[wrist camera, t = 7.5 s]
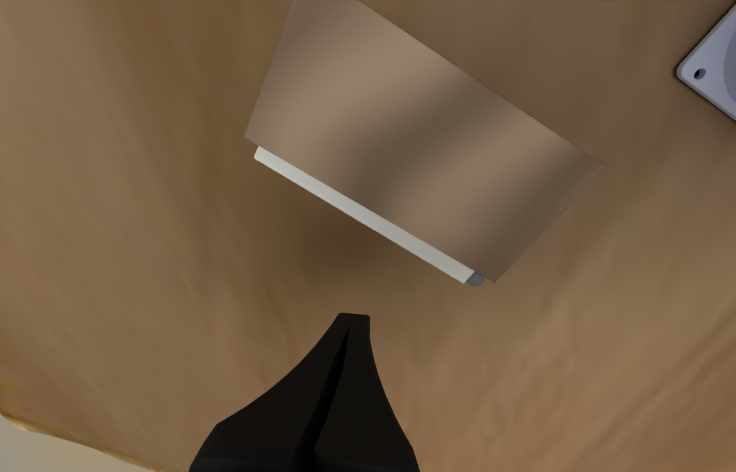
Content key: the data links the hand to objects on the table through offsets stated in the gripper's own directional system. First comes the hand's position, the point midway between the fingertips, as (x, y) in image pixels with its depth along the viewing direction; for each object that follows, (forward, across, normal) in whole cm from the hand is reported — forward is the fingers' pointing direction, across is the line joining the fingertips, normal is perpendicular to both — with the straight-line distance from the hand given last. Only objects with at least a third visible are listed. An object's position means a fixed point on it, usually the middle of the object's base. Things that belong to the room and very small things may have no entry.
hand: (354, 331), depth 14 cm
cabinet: (+10, -2, -7) cm, 12 cm away
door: (+10, 0, -3) cm, 10 cm away
